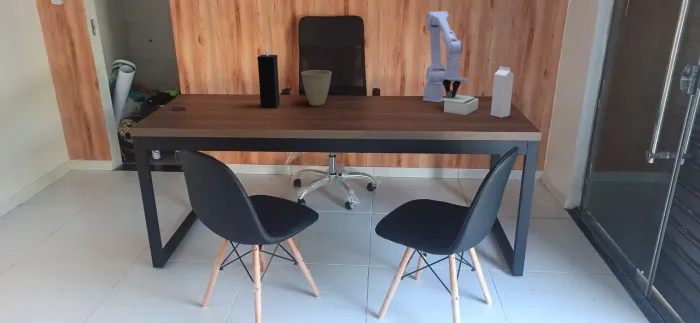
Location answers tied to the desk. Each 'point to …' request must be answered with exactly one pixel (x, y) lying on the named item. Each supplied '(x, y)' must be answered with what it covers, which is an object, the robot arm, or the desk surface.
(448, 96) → the lid
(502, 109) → the milk
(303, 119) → the desk surface
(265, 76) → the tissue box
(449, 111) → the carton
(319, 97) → the plant pot
